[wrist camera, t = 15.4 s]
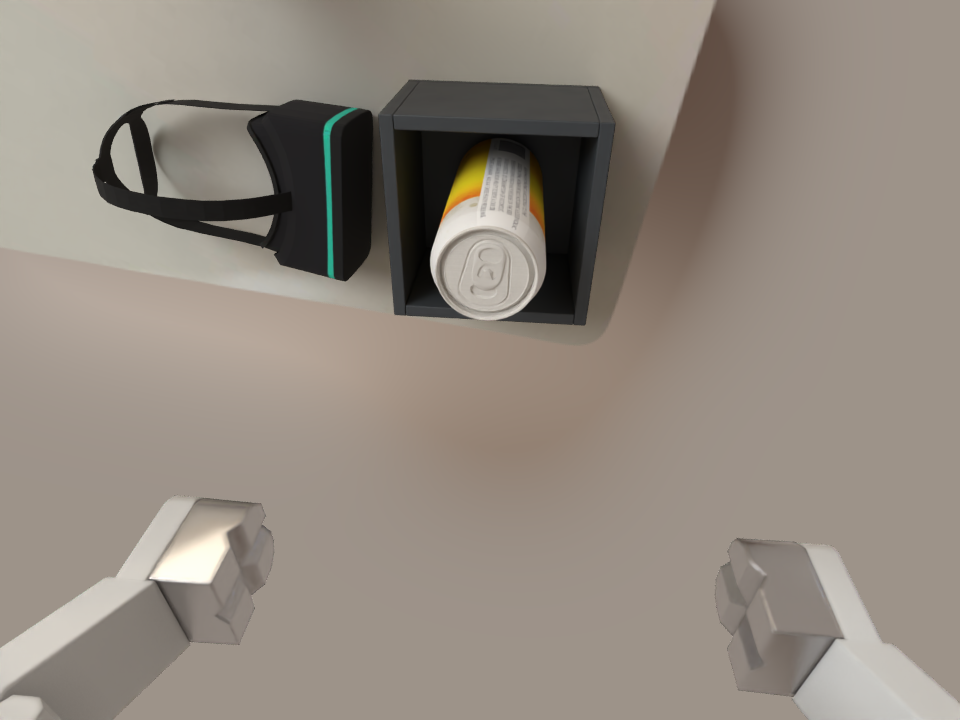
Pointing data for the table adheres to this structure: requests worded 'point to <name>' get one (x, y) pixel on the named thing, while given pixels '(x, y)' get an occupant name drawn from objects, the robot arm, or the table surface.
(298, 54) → the table surface
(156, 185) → the virtual reality headset
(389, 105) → the trash bin
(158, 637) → the robot arm
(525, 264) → the beer can
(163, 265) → the table surface
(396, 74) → the table surface
